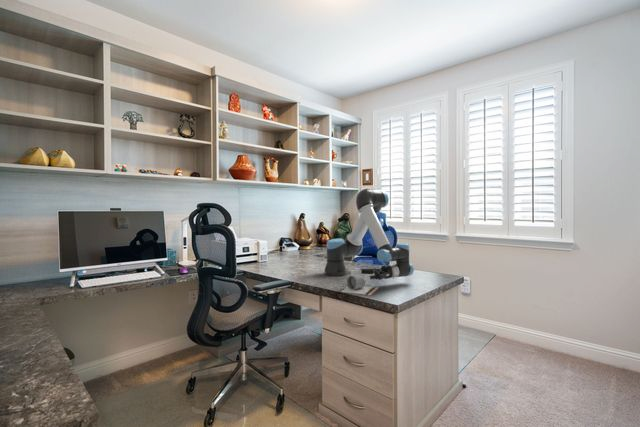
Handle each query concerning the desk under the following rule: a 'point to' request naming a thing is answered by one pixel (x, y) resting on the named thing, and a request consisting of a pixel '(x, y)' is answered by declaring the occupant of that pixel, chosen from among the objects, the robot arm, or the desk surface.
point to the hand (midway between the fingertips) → (357, 275)
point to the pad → (358, 290)
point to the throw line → (373, 291)
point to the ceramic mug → (355, 282)
